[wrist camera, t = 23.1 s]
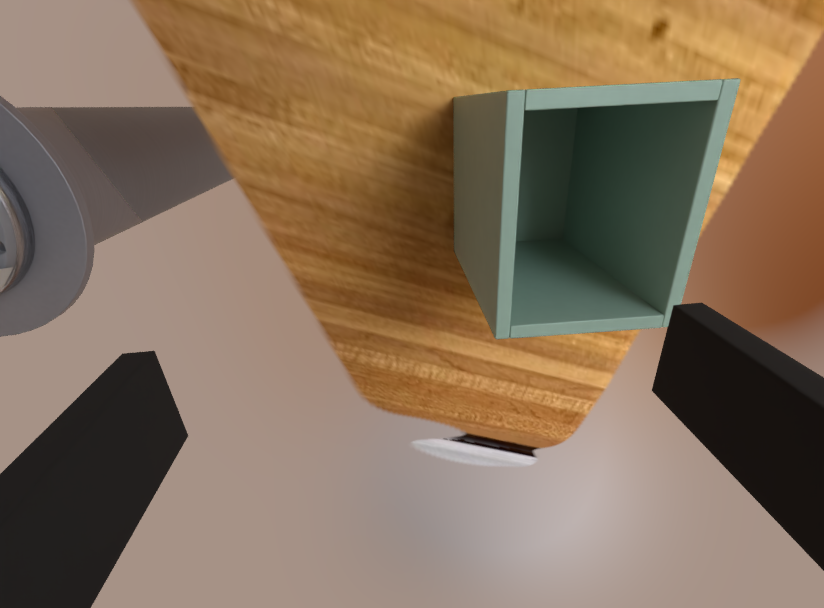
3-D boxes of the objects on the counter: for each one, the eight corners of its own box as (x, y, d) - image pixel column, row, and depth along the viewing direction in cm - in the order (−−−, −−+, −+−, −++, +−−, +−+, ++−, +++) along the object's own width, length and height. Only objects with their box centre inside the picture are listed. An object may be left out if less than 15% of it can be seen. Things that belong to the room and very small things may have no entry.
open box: (675, 327, 23) (742, 78, 17) (495, 340, 22) (507, 90, 17) (567, 244, 36) (585, 90, 31) (453, 251, 36) (453, 97, 30)
